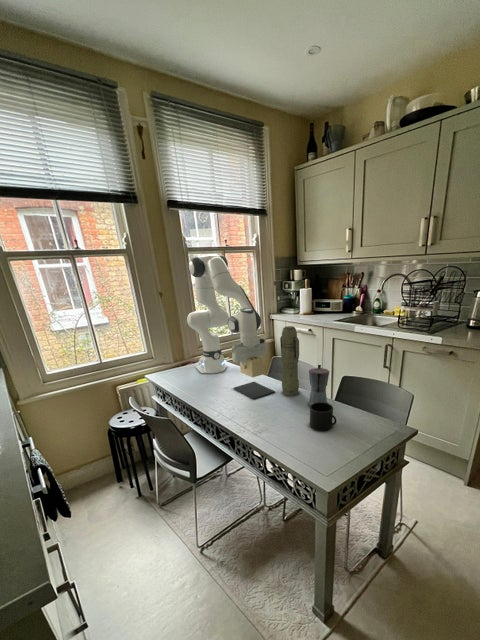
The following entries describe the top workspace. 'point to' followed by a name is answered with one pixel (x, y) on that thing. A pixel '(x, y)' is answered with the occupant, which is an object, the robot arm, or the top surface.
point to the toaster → (252, 367)
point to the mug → (321, 416)
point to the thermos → (290, 360)
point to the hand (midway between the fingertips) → (250, 366)
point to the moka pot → (318, 384)
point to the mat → (254, 390)
